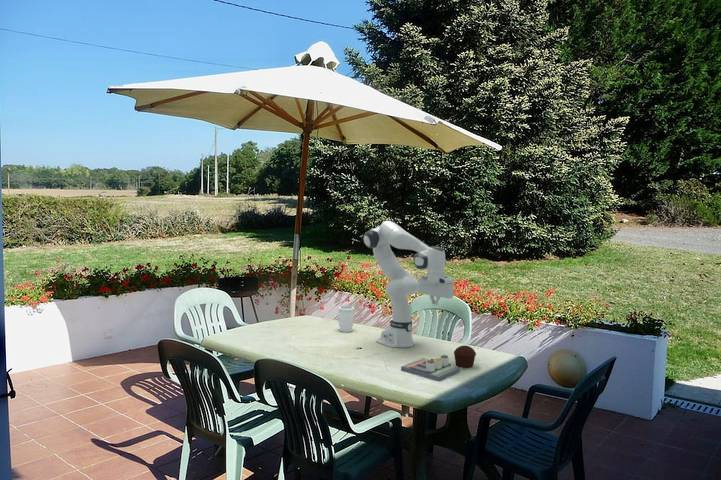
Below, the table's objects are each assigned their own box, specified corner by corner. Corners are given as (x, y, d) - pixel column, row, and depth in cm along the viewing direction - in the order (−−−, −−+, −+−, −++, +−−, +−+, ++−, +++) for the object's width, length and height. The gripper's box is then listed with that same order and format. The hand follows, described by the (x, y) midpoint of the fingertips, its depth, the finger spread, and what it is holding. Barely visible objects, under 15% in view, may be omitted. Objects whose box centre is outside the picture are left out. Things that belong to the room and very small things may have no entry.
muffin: (460, 360, 278) (460, 342, 277) (479, 365, 271) (480, 346, 270) (449, 366, 268) (449, 346, 268) (468, 370, 261) (469, 351, 261)
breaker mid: (433, 367, 257) (433, 358, 257) (436, 366, 259) (437, 357, 259) (438, 369, 255) (438, 359, 255) (441, 367, 257) (442, 358, 257)
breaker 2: (439, 364, 261) (440, 355, 261) (443, 363, 264) (443, 354, 263) (444, 366, 259) (445, 357, 259) (448, 364, 262) (448, 355, 261)
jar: (336, 329, 340) (336, 306, 339) (351, 328, 344) (351, 305, 342) (340, 333, 330) (340, 309, 329) (356, 332, 333) (356, 308, 332)
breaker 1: (425, 370, 253) (426, 361, 252) (429, 369, 255) (429, 359, 255) (431, 372, 251) (431, 362, 250) (434, 370, 253) (435, 361, 253)
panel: (401, 370, 260) (401, 364, 260) (423, 361, 274) (423, 356, 274) (438, 381, 246) (438, 375, 245) (459, 371, 260) (460, 366, 260)
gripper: (415, 276, 276) (415, 301, 277) (449, 281, 262) (447, 308, 263) (423, 274, 281) (422, 300, 282) (455, 279, 267) (454, 306, 268)
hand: (434, 304), depth 272 cm, fingers closed
